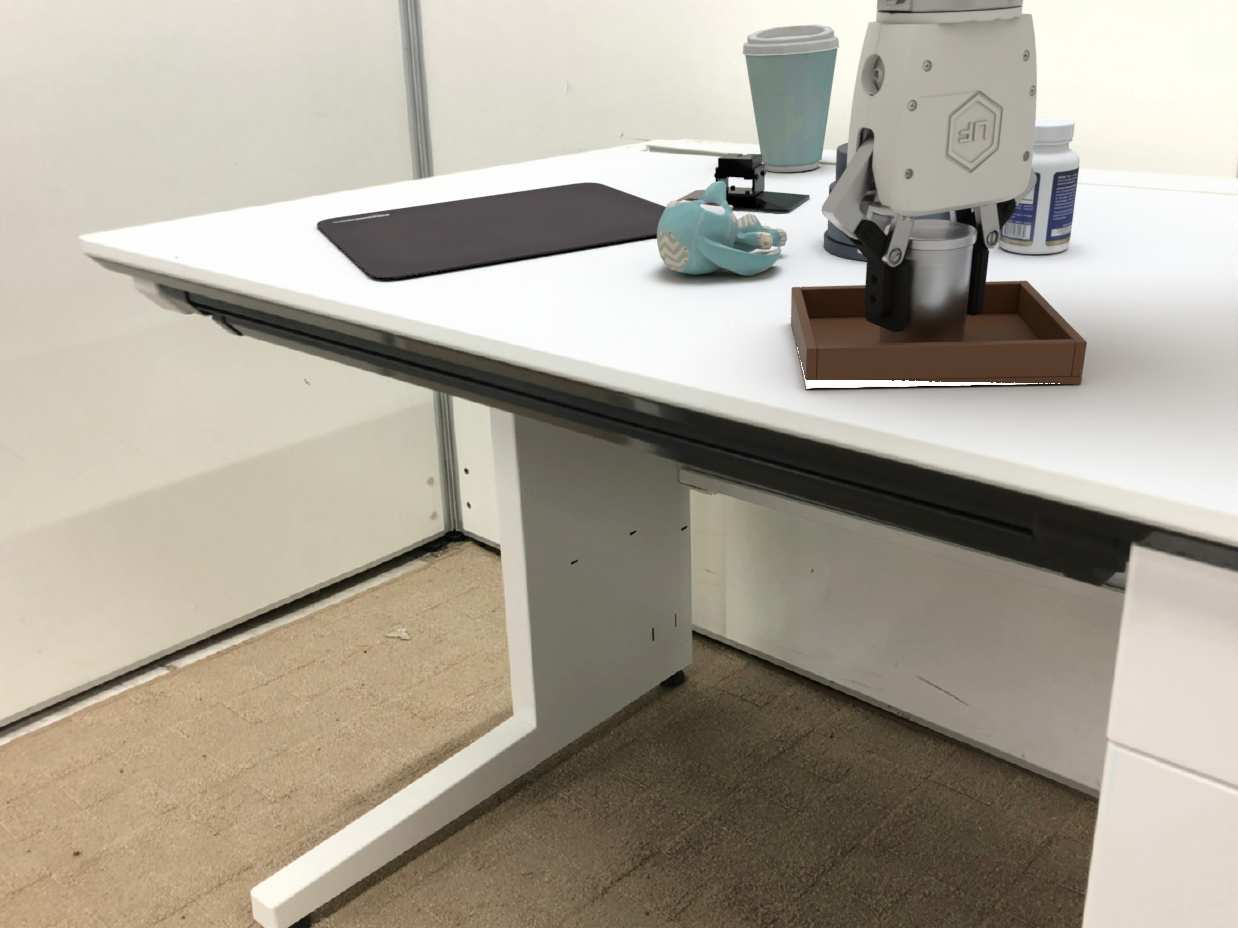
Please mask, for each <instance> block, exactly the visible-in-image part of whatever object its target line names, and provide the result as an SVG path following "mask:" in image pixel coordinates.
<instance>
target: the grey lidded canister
mask: <svg viewBox="0 0 1238 928" xmlns="http://www.w3.org/2000/svg"><path fill="white" fill-rule="evenodd" d="M847 152H848V142H845V143H842V144H840V145H838V146H837V147H836V156H835V158H836V159H835V180H834V181H832V182H831V183H830V184H829V185H828V196H829V195H830V193H831V191H832V190H833V188H834V187H835V185H836V184H837V182H838V180H839V179H840V177H841V176H842V174H843V173H844V171H845V169H846V168H847ZM868 208H869V205H863V204H860V210H861V212H862V213H863V214H864V215H865V217H866V215H867V212H868ZM891 220H892V218H890V217H888V221H887V224H886V226H888V225H890V224H891ZM915 220H947V221H951V217H950V211H949V212H943V213H937V214H931V215H924V216H916V218H915ZM823 249H824V250H826V252H828V253H830V254H831V255H835V256H837V257H841V258H844V259H848V260H854V261H861V262H867V258H864V257H861V256H860V255H859V254H858V249H857V247H856V246H855V245H854V244H853V243H852V242H851V241H850V240H849V239H848V238H847V236H846V235H845V234H844V232H843V231H842V230H840V229H839V228H838V227H836V226H835V225H834V224H833V223H832V222H830V221H829V220H828V219H827V229H826V230H825V231H824V233H823Z"/></svg>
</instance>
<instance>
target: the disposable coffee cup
mask: <svg viewBox="0 0 1238 928" xmlns="http://www.w3.org/2000/svg"><path fill="white" fill-rule="evenodd" d="M746 39H747V41H746V42H744V43H743V45H742V55H743V56H744V57H745V61H746V62H745V65H746V69H747V75H748V82H749V88H750V94H751V101H752V107H753V115H754V120H755V126H756V132H757V138H758V144H759V151H760V154H762V164H765V171H766V172H767V171H768V172H773V173H796V172H805V171H810V170H815V169H817V168H819V166H820V162H821V161H822V160H823V159H822V158H823V153H824V145H825V138H826V131H827V126H828V125H827V124H828V119H829V111H830V104H831V97H832V91H833V90H832V89H833V83H834V76H835V69H836V62H837V55H838V49H839V48H840V40H839V38H838V36H835V30H834V29H833V28H832V27H831V26H829V25H821V24H801V25H785V26H773V27H770V28H765V29H761V30H757V31H754V32H753V33H750V34H748V35H747V37H746Z"/></svg>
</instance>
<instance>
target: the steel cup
mask: <svg viewBox="0 0 1238 928" xmlns="http://www.w3.org/2000/svg"><path fill="white" fill-rule="evenodd" d="M889 227H890V225H888V226H886V228H885V231H884V233H885V234H886V236H887V234H888V231H889ZM976 240H977V229H976V228H975V227H973V226H971V225H968V224H965V223H960V222H955V221H947V220H915V221H914V224H913V228H912V231H911V235H910V238H909V241H908V245H907V248H906V251H905V255H904V258H903V260H902V262H901V263H904V264H907V265H910V268H911V281H910V294H909V307H908V321H907V327H906V328H905V330H904V331H900V332H896V333H895V332H892V331H890V330H887V329H885V328H882V327H880V335H879V342H880V344H882V343H927V342H964V335H965V325H966V315H967V304H968V294H969V284H970V274H971V263H972V253H973V244H974V243H975V242H976Z"/></svg>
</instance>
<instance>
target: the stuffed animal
mask: <svg viewBox="0 0 1238 928" xmlns="http://www.w3.org/2000/svg"><path fill="white" fill-rule="evenodd" d="M704 190H705V191H704V193H703V195H702V196H701V197H700V198H699V199H698V200H697V199H693V198H688V199H684V200H682V201H676V200H671V201H670V202H668V203H667V204H666V206H665V207H666V208H665V210H664V212H663V214H662V216H661V219H660V221H659V224H658V229H657V235H656V242H657V243H656V245H657V248H658V253H659V256H660V258H661V260H662V262H663V264H665V266H666V267H668V269H670V270H672V271H674V272H677V273H682V274H688V275H691V276H695V275H696V276H697V275H704V274H705V275H706V274H711V273H712V272H714V271H716V270H717V269H719V268H721V269H725V270H727V271H729V272H732V273H734V274H738V275H739V276H747V277H748V276H749V277H750V276H751V277H753V276H755V275H758V274H761V273H762V272H765V271H767V270H768V269H770V268H771V267H772V266H773V265H774V264H775V263H776V262H777V261H778V259H779V258H780V255H781V253H782V249H781V248H782V247H784V246H785V245H786V243H787V241H788V236H787V235H788V234H787V232H786V231H785V230H784V229H781V228H771V227H770V226H768V225H762V223H761V222H760V219H758V217H757V216H756V215H755V214H752V213H747V214H745V215H743V216H741V217H739V218H737V216H736V215H735V213H734V212H733V210H732V209H733V206H732V205H728V203H727V201H726V184H725V182H723V181H717V182H716V181H715V182H712V183H710V185H709V186H707V188H705V189H704ZM772 247H775V248H774V249H773V250H770V249H771V248H772ZM756 250H761V251H762V250H763V251H765V250H766V252H764V253H752V252H755V251H756ZM767 250H770V251H767Z"/></svg>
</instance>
